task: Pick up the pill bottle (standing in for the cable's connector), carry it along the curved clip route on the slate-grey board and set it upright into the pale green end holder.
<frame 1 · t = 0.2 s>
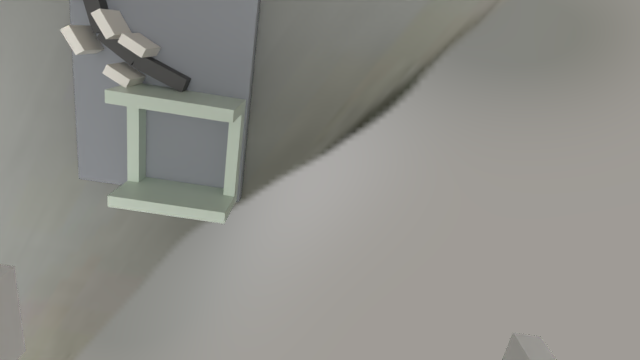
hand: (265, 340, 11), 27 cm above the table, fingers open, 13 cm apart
route board: (166, 93, 36), on the table
end holder: (188, 144, 36), resting on route board
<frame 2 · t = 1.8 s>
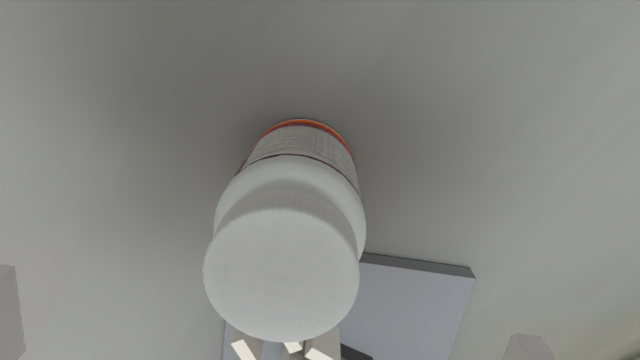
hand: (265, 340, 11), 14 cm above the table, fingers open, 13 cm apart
route board: (331, 359, 28), on the table
pill bottle: (302, 166, 23), on the table
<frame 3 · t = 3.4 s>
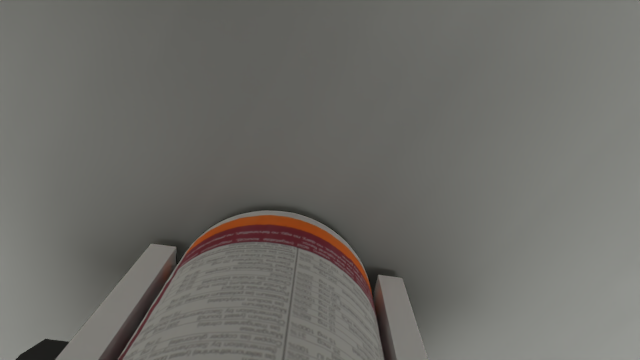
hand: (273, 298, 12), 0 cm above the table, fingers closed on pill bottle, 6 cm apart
pill bottle: (275, 286, 13), on the table, touching gripper
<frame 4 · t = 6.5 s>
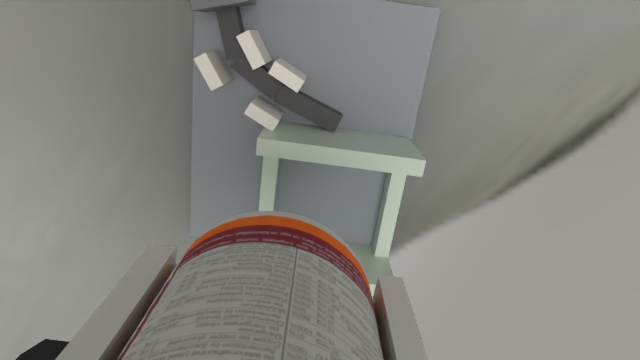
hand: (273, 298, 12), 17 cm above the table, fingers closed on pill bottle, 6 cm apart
route board: (302, 130, 28), on the table
pill bottle: (275, 286, 13), point 17 cm above the table, touching gripper
end holder: (329, 193, 29), resting on route board
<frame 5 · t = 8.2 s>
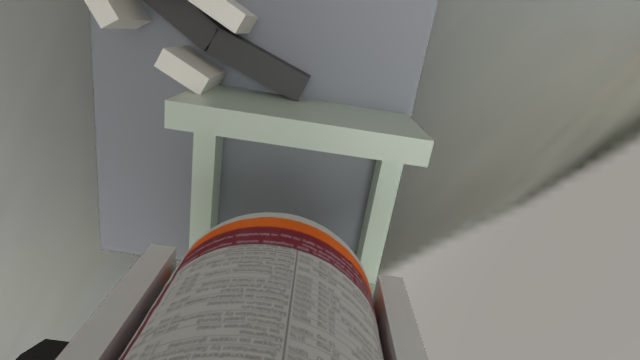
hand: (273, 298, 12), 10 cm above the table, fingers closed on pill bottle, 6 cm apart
route board: (257, 103, 20), on the table
pill bottle: (275, 287, 13), point 9 cm above the table, touching gripper
end holder: (294, 191, 20), resting on route board
when the fingers open (4 cm above the table, at t = 9.6 s): pill bottle drops 2 cm, resting on route board.
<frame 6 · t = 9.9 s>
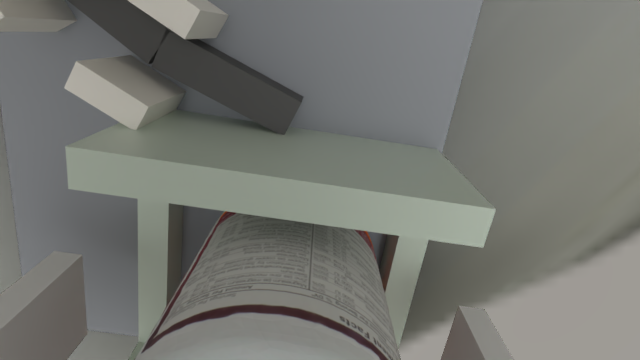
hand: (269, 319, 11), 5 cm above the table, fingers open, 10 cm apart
route board: (231, 131, 15), on the table
pill bottle: (292, 250, 15), point 1 cm above the table, touching route board
end holder: (282, 250, 15), resting on route board
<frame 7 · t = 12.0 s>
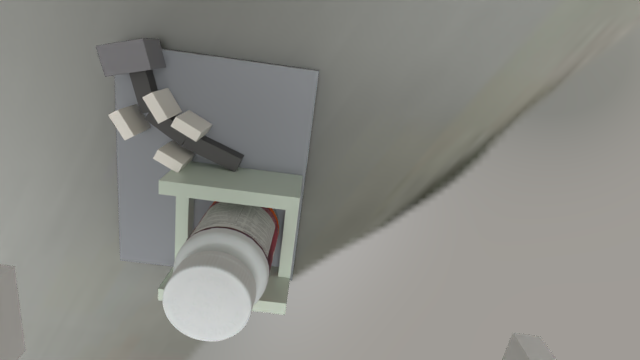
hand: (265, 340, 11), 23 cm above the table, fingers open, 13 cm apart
route board: (215, 168, 33), on the table
pill bottle: (244, 222, 34), point 1 cm above the table, touching route board
end holder: (239, 222, 33), resting on route board
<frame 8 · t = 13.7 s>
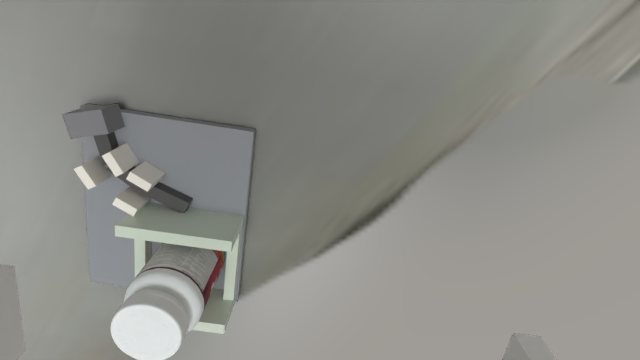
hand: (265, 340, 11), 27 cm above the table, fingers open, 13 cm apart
route board: (170, 207, 39), on the table
pill bottle: (195, 252, 39), point 1 cm above the table, touching route board
end holder: (190, 252, 39), resting on route board
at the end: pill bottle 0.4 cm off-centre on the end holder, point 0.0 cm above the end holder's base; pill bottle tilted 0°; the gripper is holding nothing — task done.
